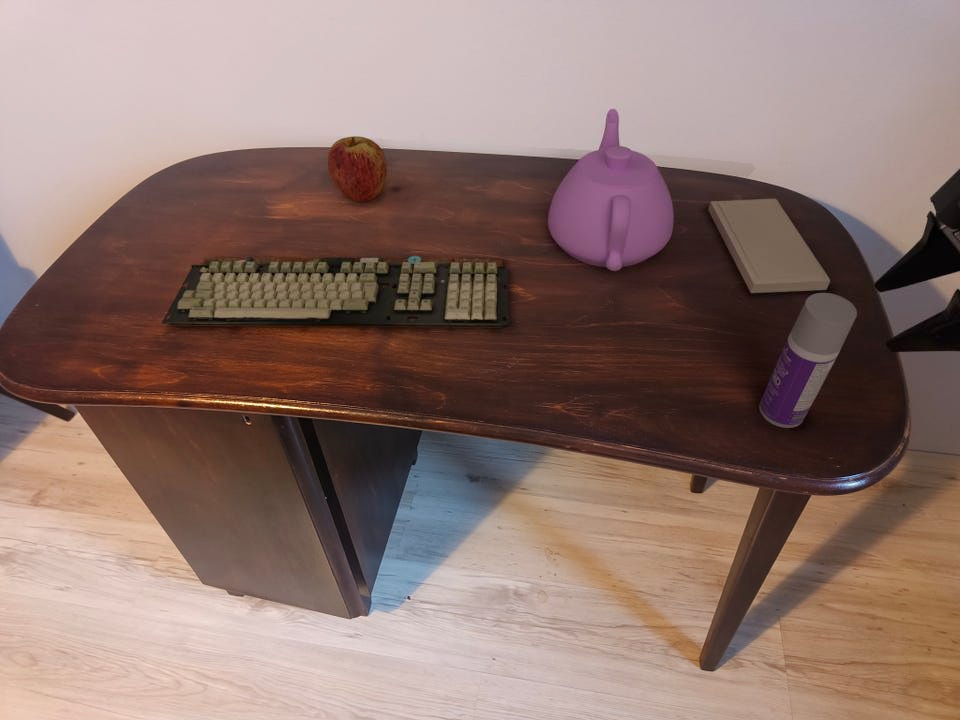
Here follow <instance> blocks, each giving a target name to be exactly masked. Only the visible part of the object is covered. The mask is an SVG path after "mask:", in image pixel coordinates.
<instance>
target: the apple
mask: <svg viewBox="0 0 960 720" xmlns="http://www.w3.org/2000/svg"><path fill="white" fill-rule="evenodd" d="M327 169H328V173H329V176H330V179H331V181H332V182H333V185H334V186H335V187H336V188H337V189H338V190H339V191H340V192H341V193H342V194H343V195H344V196H345V197H347V198H348V199H350V200H352V201H355V202H359V203H365V202H370V201H373V200H374V199H376V198H377V197H378V196H380V193H381V192H382V190H383V188H384V185H385V182H386V178H387V174H388V164H387V160H386V156H385V153H384V150H383V149H382V148H381V145H380V144H378V143H376V142H375V141H374V140H372V139H370V138H367V137H364V136H358V135H357V136H356V135H355V136H347V137H343V138H339V139H337V141H335V142H334V143H333V144H332V145H331V146H330V149H329V151H328V154H327Z"/></svg>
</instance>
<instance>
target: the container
mask: <svg viewBox="0 0 960 720" xmlns="http://www.w3.org/2000/svg"><path fill="white" fill-rule="evenodd" d="M857 316H858V311H857V308H856V307H855V305H854V304H853V303H852V302H851V301H850V300H848V299H847V298H845V297H843V296H841V295H838V294H834V293H831V292H830V293H829V292H818V293H813V294H811V295H809V296H808V297H807V298H806V300H805V302H804V304H803V306H802V308H801V310H800V312H799V314H798V316H797V319H796V320H795V323H794V325H793V327H792V329H791V331H790V333H789V335H788V337H787V339H786V342H785V344H784V346H783V348H782V351H781V353H780V355H779V358H778V360H777V362H776V365H775V367H774V369H773V371H772V374H771V376H770V379H769V380H768V383H767V386H766V388H765V390H764V392H763V395H762V397H761V400H760V402H759V404H758V409H759V412H760V414H761V416H762V417H763V419H765V421H767V422H768V423H770V424H772V425H774V426H776V427H780V428H784V429H790V428H791V429H792V428H796V427H798V426H800V425H801V424H802V423H803V422H804V420H805V418H806V416H807V415H808V413H809V411H810V409H811V407H812V405H813V403H814V401H815V399H816V398H817V396H818V394H819V392H820V390H821V388H822V386H823V384H824V382H825V380H826V378H827V377H828V375H829V373H830V371H831V369H832V367H833V365H834V363H835V361H836V360H837V359H838V356H839V354H840V352H841V349H842V347H843V345H844V343H845V341H846V340H847V337H848V335H849V333H850V331H851V329H852V327H853V325H854V323H855V321H856V318H857Z"/></svg>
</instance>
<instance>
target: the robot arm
mask: <svg viewBox="0 0 960 720" xmlns="http://www.w3.org/2000/svg"><path fill="white" fill-rule="evenodd" d="M929 200H930V203H932V205H933V208H934V210H935V213H934V212H933V211H932V210H929V212H928V213H927V215H926V218H927V219H926V223H925V227H924V231H923V234H922V236H921V238H920V239H918V241H917V242H916V243H915V245H913V247H911V248H910V249H909V250H908V251H907V252H906V253H905V254H904V255H903V256H902V257H901V258H900V259H899V260H898V261H896V262H895V264H894V265H892V266H891V267H890V268H889V269H888V270H887V271H886V272H885V273H884V274H882V276H880V277H879V278H878V279H877V280H876V281H875V282H874V283H873V286H874V288H875V290H877V292H878V293H885V292H889V291H893V290H898V289H903V288H906V287H910V286H914V285H916V284H920V283H923V282H927V281H930V280H931V281H932V280H933V279H938V278H940V277H941V278H942V277H944V276H949V275H952V274H956V273H959V272H960V168H958V169H957V170H956V171H955V172H954V174H952V175H951V176H950V177H949V178H948V179H947V180H946V181H945V182H944V183H943V184H942V185H941V186H940V187H939V188H938V189H937V190H936V191H935V192H934V193H933V194H932V195H931V196H930V197H929ZM885 345H886V348H888V350H889V351H891V353H916V352H917V353H919V352H920V353H925V352H926V353H927V352H960V288H957V289H955V291H954V293H953V295H952V296H951V298H950V300H949V302H948V304H947V306H946V308H944V309H943V310H942V311H939V312H937V313H935V314H934V315H932V316H930V317H928V318H926V319H924V320H922V321H920V322H918V323H916V324H914V325H913V326H911V327H909V328H907V329H905V330H903V331H901V332H899V333H897V334H896V335H895V336H892V337H891V338H889V339H888V340H887V341H886V342H885Z"/></svg>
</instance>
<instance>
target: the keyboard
mask: <svg viewBox="0 0 960 720" xmlns="http://www.w3.org/2000/svg"><path fill="white" fill-rule="evenodd" d="M503 261H504V260H503V259H492V258H462V257H461V258H459V257H458V258H454V257H451V258H449V257H447V258H446V257H444V258H442V257H420V256H419V255H412V256H410V257H404V258H396V257H309V258H302V257H291V256H290V257H287V256H286V257H282V256H281V257H280V256H279V257H278V256H277V257H269V256H267V257H261V256H259V257H253V256H249V257H248V259H246V258H245V259H243V257H241V256H240V257H237V256H236V257H235V256H233V257H232V256H231V257H228V256H227V257H225V256H223V257H221V256H220V257H214V258H204V259H203V260H202V262H201V264H191V265H190V270H189V271H188V274H187V275H186V277H185V279H184V281H183V283H182V285H181V286H180V288H179V290H178V292H177V294H176V296H175V298H174V299H173V302H172V303H171V304H170V306H169V308H168V310H167V312H166V314H165V316H164V318H163V319H162V321H161V324H169V326H170V327H171V326H172V327H278V328H279V327H283V328H286V327H287V328H288V327H289V328H291V327H292V328H293V327H295V328H296V327H297V328H299V327H300V328H301V327H303V328H304V327H305V328H308V327H309V328H310V327H312V328H316V327H317V328H334V327H335V328H469V329H470V328H471V329H472V328H473V329H475V328H479V329H485V328H486V329H501V328H503V326H510V289H511V286H510V279H509V278H510V277H509V275H510V273H509V268H505V266H504V265H503V264H504V263H503ZM186 284H187V286H186ZM394 285H395V286H396V287H394ZM505 286H506V288H504V287H505ZM169 315H170V318H167V317H168V316H169ZM388 317H389V318H390V319H387V318H388ZM504 317H505V319H506V320H504Z"/></svg>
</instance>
